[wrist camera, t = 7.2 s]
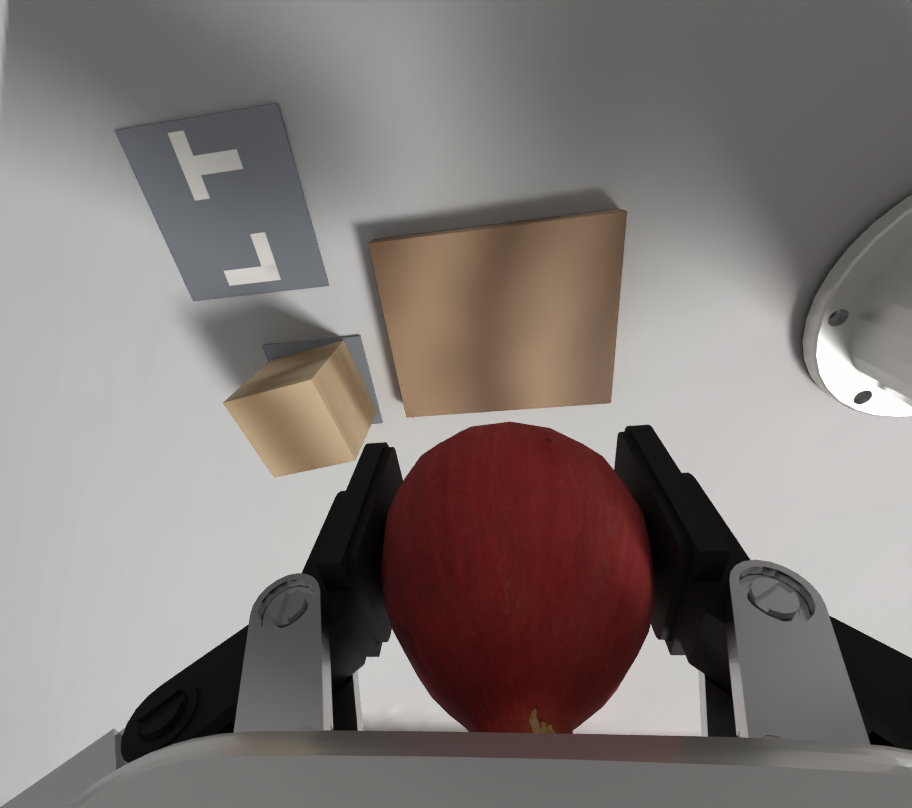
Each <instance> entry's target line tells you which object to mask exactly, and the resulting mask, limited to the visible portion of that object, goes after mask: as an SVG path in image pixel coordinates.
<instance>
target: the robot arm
mask: <svg viewBox="0 0 912 808" xmlns="http://www.w3.org/2000/svg"><path fill="white" fill-rule="evenodd" d="M803 353H804V361H805V363H806V366H807V369H808V372H809V374H810V376H811V377H812V379H813V380H814V381H815V383H816V384H817V385H818V387H819V388H820V389H821V390H823V391H824V392H825V393H827V394H828V395H829V396H831V397H832V398H833V399H835V400H836V401H838V402H839V403H841V404H843V405H844V406H846V407H848V408H850V409H852V410H855V411H859V412H863V413H866V414H870V415H876V416H887V417H904V416H912V195H910V196H909V197H907V198H905V199H904V200H902V201H901V202H900V203H898V204H897V205H896V206H895V207H893V208H892V209H891V210H889V211H888V212H887V213H885V214H884V215H883V216H882V217H880V218H879V219H878V220H876V221H875V222H874V223H873V224H872V225H871V226H870V227H869V228H868V229H867V230H866V231H865V232H864V233H863V234H862V235H861V236H860V237H859V238H858V239H857V240H855V241H854V242H853V243H852V244H851V245H850V246H849V247H848V249H847V250H846V251H845V253H844V254H843V255H842V256H841V258H840V259H839V260H838V261H837V263H836V264H835V265H834V266H833V268H832V269H831V270H830V271H829V273H828V275H827V276H826V278H825V280H824V282H823V283H822V285H821V287H820V288H819V290H818V292H817V294H816V295H815V297H814V300H813V303H812V305H811V308H810V310H809V313H808V316H807V318H806V323H805V329H804V335H803ZM614 471H615V472H616V473H617V475H618V476H619V477H620V478H621V480H622V481H623V482H624V483H625V484H626V486H627V487H628V489H629V491H630V492H631V494H632V495H633V497H634V499H635V500H636V502H637V503H638V505H639V507H640V508H641V510H642V511H643V515H644V519H645V524H646V528H647V533H648V537H649V542H650V547H651V554H652V561H653V568H654V574H655V606H654V611H653V615H652V619H651V625H652V628H653V631H654V633H655V635H656V637H657V638H658V639H659V640H664V639H665V642H666V644H667V647H668V650H669V652H670V655H686V657H687V660H688V662H689V663H690V664H691V665H692V666H694V667H695V668H697V669H698V670H699V689H700V712H701V734H702V737H698V736H653V735H607V734H552V733H492V732H423V731H363V722H362V712H361V702H360V692H359V682H358V672H357V670H358V669H359V668H360V667H362V666H363V665H364V664H365V660H366V657H379V655H380V651H381V646H382V642H388V641H389V638H390V634H391V629H392V626H391V623H390V620H389V617H388V614H387V611H386V608H385V605H384V598H383V592H382V585H381V579H380V572H381V563H382V554H383V545H384V537H385V529H386V521H387V513H388V511H389V508H390V506H391V504H392V502H393V500H394V498H395V495H396V493H397V491H398V489H399V487H400V485H401V483H402V482H403V479H402V475H401V471H400V467H399V463H398V459H397V455H396V451H395V448H394V447H389V446H388V444H387V443H386V442H385V443H370V444H366V445H365V447H364V449H363V452H362V454H361V456H360V459H359V461H358V463H357V466H356V468H355V471H354V473H353V475H352V478H351V480H350V482H349V485H348V487H347V490H346V491H340V492H339V493H338V494H337V496H336V497H335V500H334V502H333V504H332V506H331V509H330V511H329V513H328V515H327V518H326V520H325V522H324V524H323V527H322V529H321V531H320V533H319V536H318V538H317V540H316V542H315V545H314V547H313V549H312V551H311V554H310V556H309V558H308V560H307V563H306V565H305V567H304V569H303V572H302V574H300V573H297V574H292V575H287V576H285V577H283V578H281V579H278V580H277V581H275V582H274V583H272V584H271V585H270V586H268V587H267V588H266V589H265V590H264V591H263V592H262V593H261V594H260V595H259V597H258V598H257V600H256V602H255V603H254V605H253V607H252V611H251V614H250V619H249V625H247V626H246V627H244V628H243V629H241V630H240V631H239V632H237V633H236V634H234V635H233V636H231V637H230V638H229V639H227V640H226V641H224V642H223V643H221V644H220V645H219V646H217V647H216V648H214V649H213V650H211V651H210V652H208V653H207V654H206V655H204V656H203V657H201V658H200V659H198V660H197V661H196V662H194V663H193V664H191V665H190V666H188V667H187V668H185V669H184V670H183V671H181V672H180V673H178V674H177V675H175V676H174V677H173V678H171V679H170V680H168V681H167V682H165V683H164V684H163V685H161V686H160V687H158V688H157V689H156V690H155V691H154V692H152V693H151V694H150V695H149V696H148V697H147V698H146V699H145V700H144V701H143V702H142V703H141V704H140V706H139V707H138V708H137V709H136V710H135V712H134V714H133V715H132V717H131V718H130V720H129V721H128V723H127V725H126V728H124V729H123V730H122V731H120V732H118V731H117V730H115V729H113V730H111V731H110V732H108V733H107V734H105V735H104V736H103V737H101V738H100V739H98V740H97V741H95V742H94V743H92V744H91V745H90V746H88V747H87V748H85V749H84V750H82V751H81V752H79V753H78V754H77V755H75V756H74V757H72V758H71V759H69V760H68V761H66V762H65V763H64V764H62V765H61V766H59V767H58V768H56V769H55V770H53V771H52V772H51V773H49V774H48V775H46V776H45V777H43V778H42V779H40V780H39V781H38V782H36V783H35V784H33V785H32V786H30V787H29V788H27V789H26V790H25V791H23V792H22V793H20V794H19V795H17V796H16V797H14V798H13V799H12V800H10V801H9V802H7V803H6V804H4V805H3V806H1V807H0V808H912V658H910V657H908V656H906V655H904V654H902V653H901V652H899V651H897V650H895V649H893V648H891V647H889V646H887V645H885V644H883V643H881V642H879V641H877V640H875V639H873V638H872V637H870V636H868V635H866V634H864V633H862V632H860V631H858V630H856V629H854V628H852V627H850V626H848V625H846V624H844V623H843V622H841V621H839V620H837V619H835V618H833V617H831V616H829V614H828V611H827V608H826V605H825V603H824V601H823V599H822V597H821V595H820V594H819V593H818V591H817V590H816V589H815V588H814V587H813V586H812V585H811V584H810V583H809V582H808V581H807V580H805V579H804V578H803V577H801V576H800V575H799V574H797V573H795V572H793V571H792V570H790V569H788V568H786V567H784V566H781V565H778V564H775V563H772V562H769V561H761V560H750V559H749V557H748V556H747V554H746V553H745V551H744V550H743V548H742V547H741V545H740V544H739V542H738V541H737V539H736V538H735V536H734V535H733V533H732V532H731V531H730V529H729V528H728V526H727V525H726V523H725V522H724V520H723V519H722V517H721V516H720V514H719V513H718V511H717V510H716V508H715V507H714V505H713V504H712V502H711V501H710V499H709V498H708V496H707V495H706V494H705V492H704V491H703V489H702V488H701V486H700V485H699V483H698V482H697V480H696V479H695V478H694V476H693V475H692V474H690V473H681V472H680V470H679V469H678V467H677V465H676V464H675V462H674V461H673V459H672V458H671V456H670V455H669V453H668V451H667V450H666V448H665V447H664V445H663V444H662V442H661V441H660V439H659V437H658V436H657V434H656V433H655V431H654V430H653V428H652V427H651V426H650V425H638V426H627V427H626V428H625V432H619V433H618V438H617V448H616V458H615V468H614Z"/></svg>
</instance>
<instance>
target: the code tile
mask: <svg viewBox="0 0 912 808" xmlns="http://www.w3.org/2000/svg"><path fill="white" fill-rule="evenodd" d="M115 132H116V134H117V137H118V139H119V141H120V143H121V145H122V147H123V150H124V152H125V154H126V156H127V158H128V160H129V163H130V165H131V167H132V169H133V171H134V173H135V176H136V178H137V180H138V182H139V184H140V187H141V189H142V191H143V193H144V195H145V197H146V200H147V202H148V204H149V206H150V208H151V210H152V213H153V215H154V217H155V219H156V221H157V223H158V226H159V228H160V230H161V232H162V234H163V236H164V239H165V241H166V243H167V245H168V247H169V249H170V252H171V254H172V256H173V258H174V260H175V263H176V265H177V267H178V269H179V271H180V273H181V276H182V278H183V280H184V282H185V284H186V286H187V289H188V291H189V293H190V295H191V297H192V299H193V301H199V300H208V299H216V298H225V297H234V296H243V295H252V294H261V293H270V292H279V291H287V290H296V289H305V288H314V287H323V286H329V283H328V279H327V275H326V272H325V268H324V265H323V261H322V258H321V254H320V251H319V247H318V243H317V240H316V236H315V233H314V229H313V226H312V222H311V219H310V215H309V211H308V208H307V204H306V201H305V197H304V194H303V190H302V187H301V183H300V179H299V176H298V172H297V169H296V165H295V162H294V158H293V154H292V151H291V147H290V144H289V140H288V137H287V133H286V130H285V126H284V122H283V119H282V115H281V112H280V108H279V105H278V103H274V104H269V105H263V106H257V107H251V108H245V109H240V110H234V111H228V112H222V113H217V114H211V115H205V116H199V117H193V118H188V119H182V120H176V121H170V122H164V123H159V124H153V125H147V126H141V127H136V128H130V129H124V130H118V131H115Z"/></svg>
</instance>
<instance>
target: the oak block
mask: <svg viewBox="0 0 912 808" xmlns="http://www.w3.org/2000/svg"><path fill="white" fill-rule="evenodd" d="M223 404H224V405H225V407H226V408H227V410H228V411H229V413H230V414H231V416H232V417H233V419H234V420H235V421H236V423H237V424H238V426H239V427H240V429H241V430H242V432H243V433H244V435H245V436H246V438H247V439H248V440H249V442H250V443H251V445H252V446H253V448H254V449H255V451H256V452H257V454H258V455H259V457H260V458H261V459H262V461H263V462H264V464H265V465H266V467H267V468H268V470H269V471H270V473H271V474H272V475H273V477H274V478H275V477H280V476H284V475H289V474H294V473H298V472H303V471H308V470H313V469H317V468H322V467H327V466H332V465H336V464H341V463H346V462H351V461H355V460H356V457H357V455H358V453H359V451H360V448H361V446H362V444H363V442H364V439H365V437H366V435H367V433H368V430H369V428H370V426H371V424H372V421H373V419H374V417H375V415H376V412H377V409H376V407H375V405H374V403H373V401H372V399H371V397H370V395H369V392H368V390H367V388H366V386H365V384H364V382H363V380H362V378H361V375H360V373H359V371H358V369H357V367H356V365H355V363H354V361H353V358H352V356H351V354H350V352H349V350H348V348H347V346H346V344H345V341H344V340H341V341H338V342H334V343H331V344H327V345H324V346H320V347H317V348H313V349H310V350H306V351H302V352H299V353H295V354H292V355H288V356H285V357H281V358H278V359H274V360H270V361H269V362H268V363H267V364H265V365H264V366H263V367H262V368H261V369H260V370H259V371H258V372H257V373H255V374H254V375H253V376H252V377H251V378H250V379H249V380H248V381H247V382H245V383H244V384H243V385H242V386H241V387H240V388H239V389H238V390H237V391H236V392H234V393H233V394H232V395H231V396H230V397H229V398H228V399H227V400H226V401H224V402H223Z"/></svg>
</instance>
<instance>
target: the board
mask: <svg viewBox="0 0 912 808" xmlns="http://www.w3.org/2000/svg"><path fill="white" fill-rule="evenodd" d="M626 216H627V211H625V210H621V209H613V210H606V211H598V212H590V213H582V214H574V215H566V216H558V217H550V218H542V219H534V220H526V221H518V222H510V223H502V224H494V225H486V226H478V227H470V228H462V229H454V230H446V231H438V232H430V233H422V234H414V235H406V236H398V237H390V238H382V239H374V240H373V241H371V242H370V243H368V246H369V250H370V255H371V259H372V264H373V268H374V273H375V278H376V282H377V287H378V291H379V296H380V300H381V305H382V309H383V314H384V318H385V323H386V327H387V332H388V336H389V341H390V345H391V350H392V355H393V359H394V364H395V368H396V373H397V377H398V382H399V386H400V391H401V395H402V400H403V404H404V409H405V413H406V417H419V416H433V415H447V414H462V413H476V412H490V411H505V410H519V409H533V408H548V407H562V406H576V405H591V404H605V403H611V395H612V383H613V371H614V359H615V347H616V335H617V323H618V311H619V300H620V288H621V276H622V264H623V252H624V240H625V228H626Z"/></svg>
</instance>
